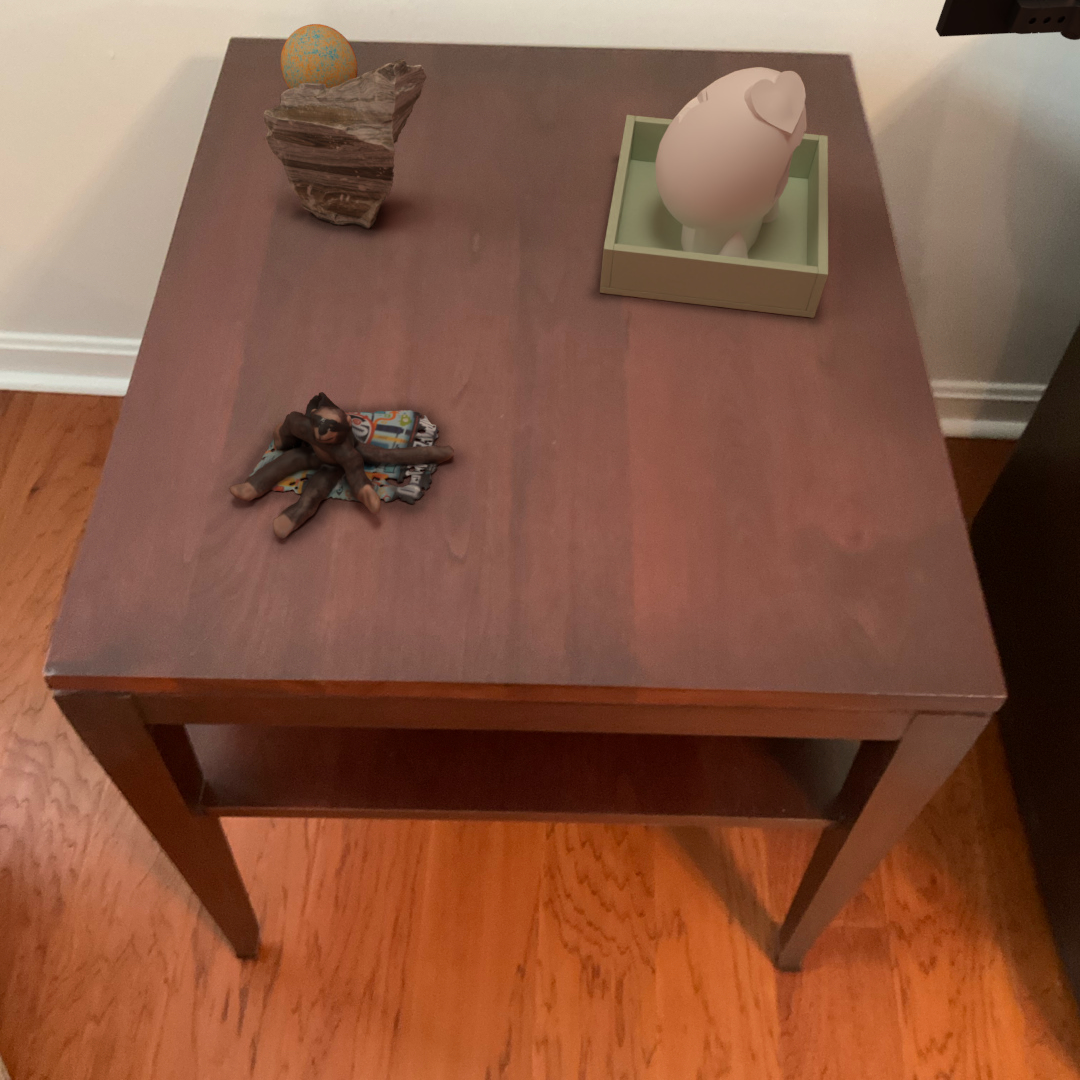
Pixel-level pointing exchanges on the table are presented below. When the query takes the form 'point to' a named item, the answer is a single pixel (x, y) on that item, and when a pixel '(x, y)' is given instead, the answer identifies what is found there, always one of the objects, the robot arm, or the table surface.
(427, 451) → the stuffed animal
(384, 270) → the table surface
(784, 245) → the tote
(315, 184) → the rock
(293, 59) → the ball
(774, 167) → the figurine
